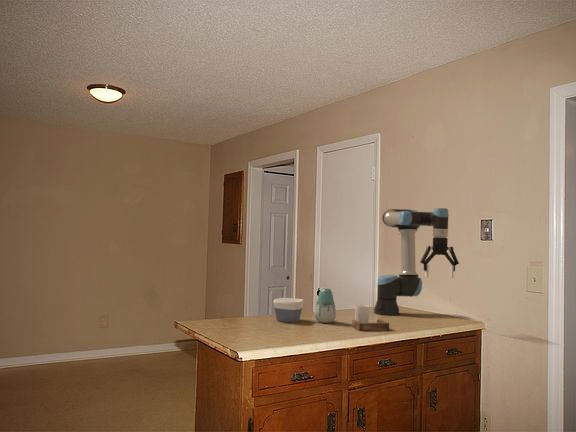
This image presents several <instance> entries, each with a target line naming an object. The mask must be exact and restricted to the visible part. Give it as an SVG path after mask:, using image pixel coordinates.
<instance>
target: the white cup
mask: <svg viewBox="0 0 576 432" xmlns="http://www.w3.org/2000/svg"><path fill="white" fill-rule="evenodd" d="M370 308H371V307H370V305H368V304H361V303H360V304H359V303H358V304H354V317H355V318H354V320H357V321H359V322H361V323H369V320H370Z"/></svg>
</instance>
